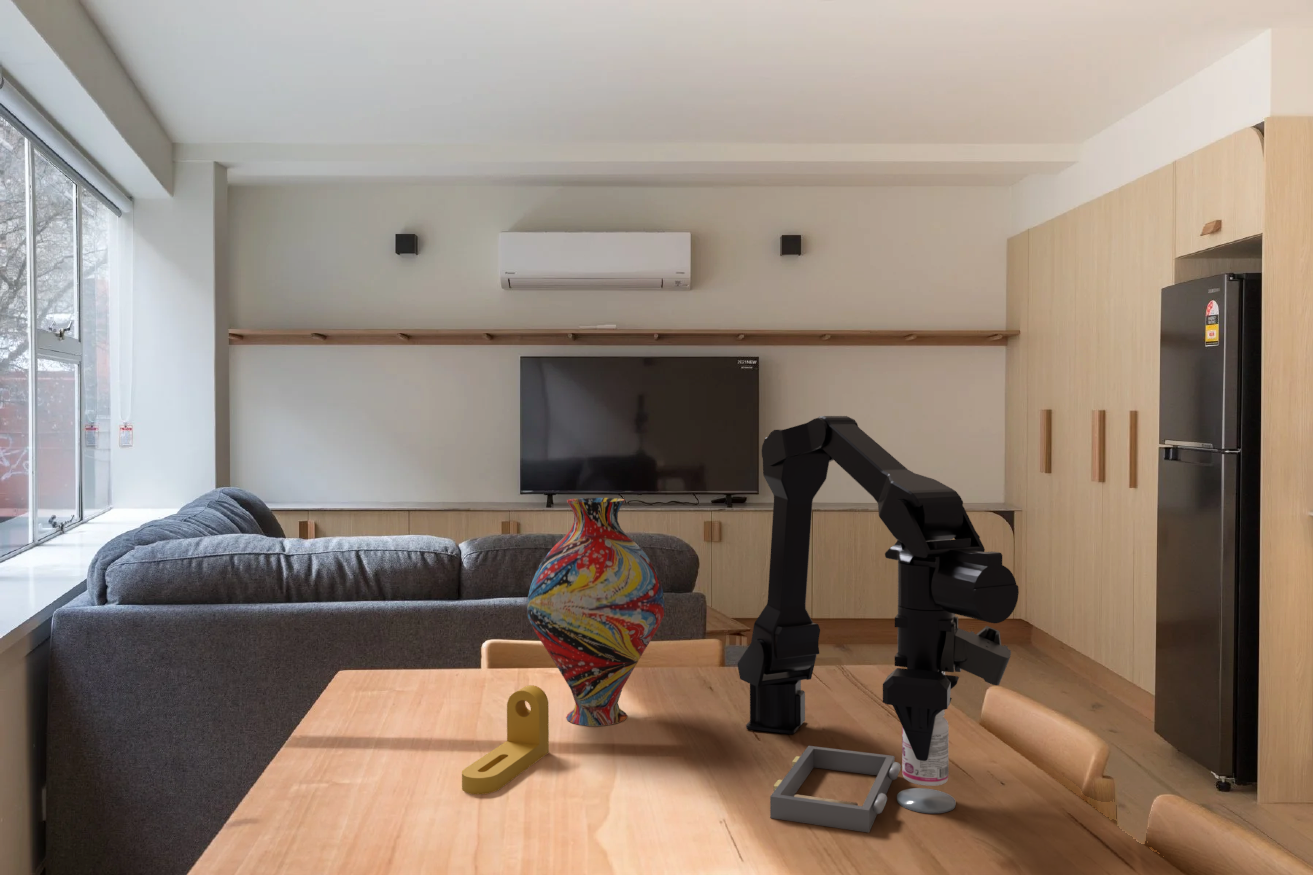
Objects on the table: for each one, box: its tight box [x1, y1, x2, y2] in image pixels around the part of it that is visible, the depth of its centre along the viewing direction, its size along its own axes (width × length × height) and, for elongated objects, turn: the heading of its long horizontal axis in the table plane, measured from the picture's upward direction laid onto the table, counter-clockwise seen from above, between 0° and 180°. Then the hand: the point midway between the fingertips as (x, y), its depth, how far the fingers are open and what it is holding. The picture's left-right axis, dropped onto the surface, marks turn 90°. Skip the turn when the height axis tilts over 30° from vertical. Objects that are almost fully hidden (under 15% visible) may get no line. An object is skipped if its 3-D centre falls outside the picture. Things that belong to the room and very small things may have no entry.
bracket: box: [461, 684, 550, 795], centre depth 114 cm, size 15×4×8 cm, turn 161°
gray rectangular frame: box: [769, 745, 902, 833], centre depth 106 cm, size 12×17×2 cm
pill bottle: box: [901, 709, 950, 787], centre depth 104 cm, size 5×5×8 cm
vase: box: [527, 497, 666, 727], centre depth 135 cm, size 19×19×30 cm
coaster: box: [896, 787, 957, 814], centre depth 104 cm, size 6×6×1 cm
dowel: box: [794, 794, 859, 806], centre depth 101 cm, size 6×2×2 cm
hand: (925, 752), depth 104 cm, fingers closed on pill bottle, 5 cm apart
